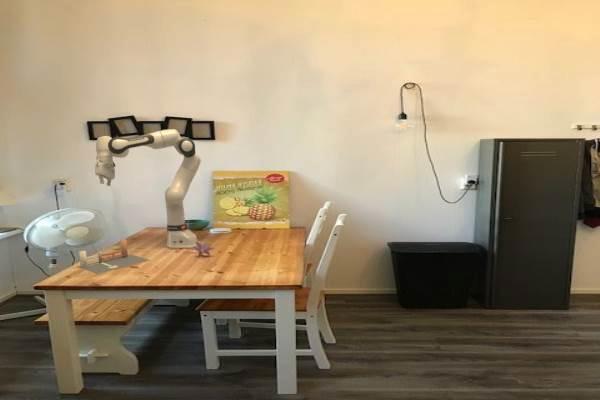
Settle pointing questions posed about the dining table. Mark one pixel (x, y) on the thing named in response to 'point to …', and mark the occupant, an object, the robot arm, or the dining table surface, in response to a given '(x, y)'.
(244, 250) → the dining table surface
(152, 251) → the dining table surface
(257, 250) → the dining table surface
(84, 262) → the fixed fence section
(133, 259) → the board
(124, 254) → the hinged fence section
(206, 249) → the lily
